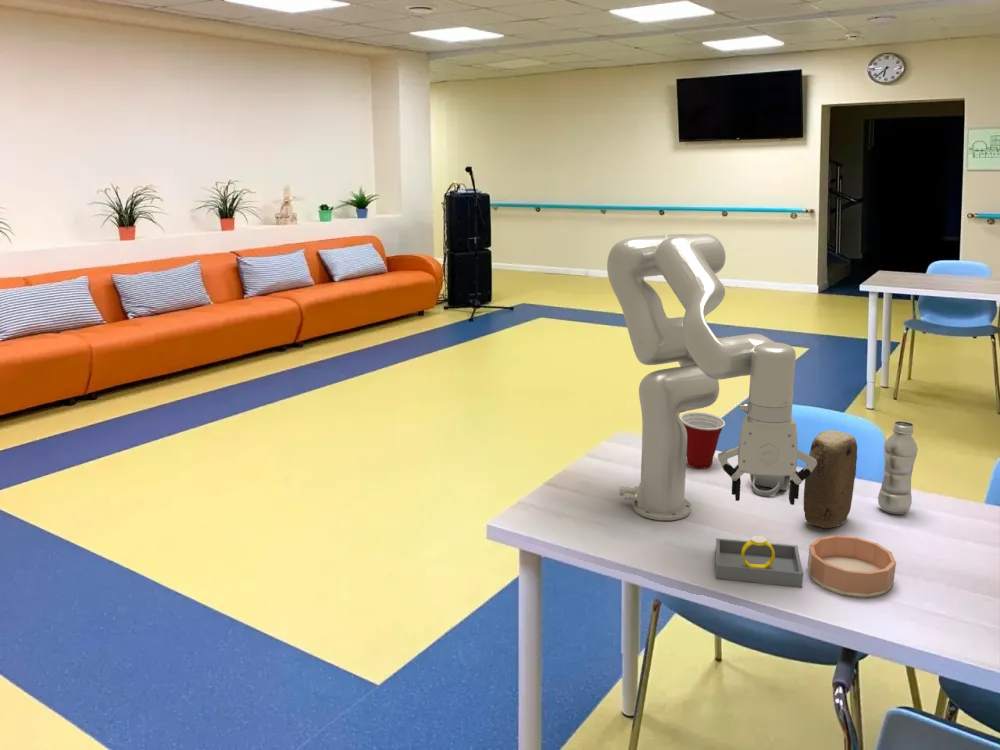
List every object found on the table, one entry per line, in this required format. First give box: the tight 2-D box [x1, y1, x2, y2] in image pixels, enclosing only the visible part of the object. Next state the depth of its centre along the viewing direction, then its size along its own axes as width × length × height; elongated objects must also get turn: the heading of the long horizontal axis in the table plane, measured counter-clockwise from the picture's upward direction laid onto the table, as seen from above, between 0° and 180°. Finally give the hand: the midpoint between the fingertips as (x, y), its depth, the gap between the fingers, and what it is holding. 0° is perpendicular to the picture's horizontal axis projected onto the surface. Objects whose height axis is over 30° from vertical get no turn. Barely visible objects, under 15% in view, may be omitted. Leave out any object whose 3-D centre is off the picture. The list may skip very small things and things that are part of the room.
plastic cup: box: [679, 411, 726, 469], centre depth 213 cm, size 11×11×12 cm
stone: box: [803, 429, 858, 529], centre depth 180 cm, size 12×7×20 cm, turn 133°
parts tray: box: [715, 537, 804, 588], centre depth 165 cm, size 15×11×3 cm
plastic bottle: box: [877, 420, 919, 515], centre depth 185 cm, size 6×7×20 cm
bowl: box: [807, 534, 897, 598], centre depth 161 cm, size 14×14×5 cm
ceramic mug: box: [749, 474, 791, 497], centre depth 200 cm, size 11×8×8 cm
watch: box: [741, 535, 775, 569], centre depth 164 cm, size 6×3×6 cm, turn 82°
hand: (764, 500), depth 161 cm, fingers open, 9 cm apart
